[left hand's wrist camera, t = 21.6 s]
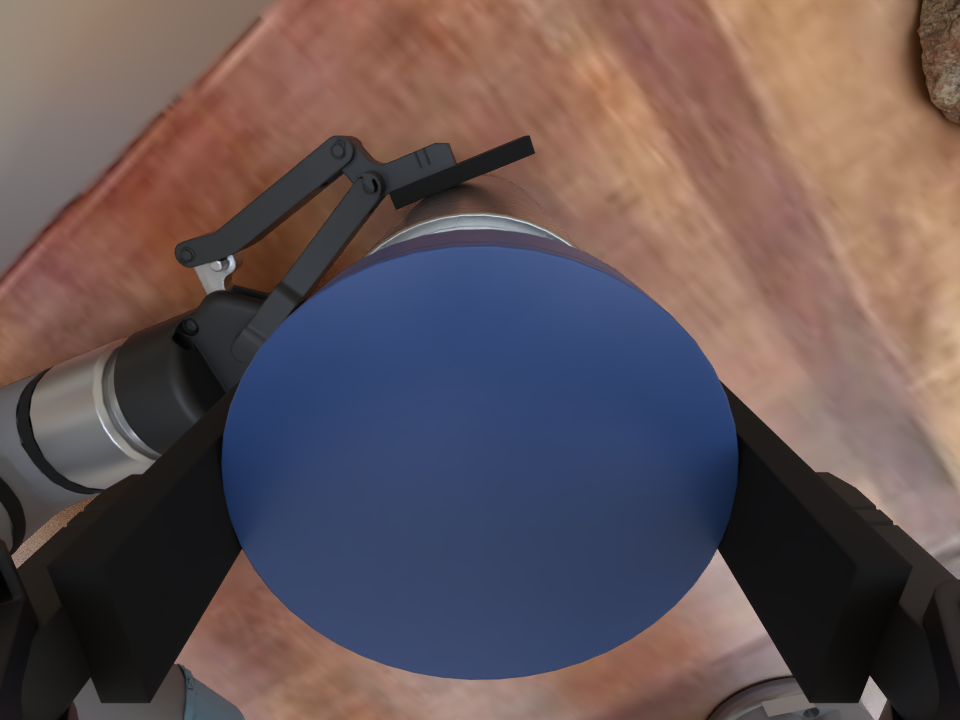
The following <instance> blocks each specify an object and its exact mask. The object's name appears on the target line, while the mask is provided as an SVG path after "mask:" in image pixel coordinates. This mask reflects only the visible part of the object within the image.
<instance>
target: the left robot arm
mask: <svg viewBox="0 0 960 720" xmlns="http://www.w3.org/2000/svg"><path fill="white" fill-rule="evenodd" d="M719 381H720V380H719ZM239 383H240V381H239V382H238V383H237V384H235V385H234V386H233V387H232V388H231V389H230V390H229V391H228V392H227V393H226V394H225V395H224V396H223V397H222V398H221V399H220V400H219V401H218V402H217V403H216V404H215V405H214V406H213V407H212V408H211V409H209V410H208V411H207V412H206V413H205V414H204V415H203V416H202V417H201V418H200V419H199V420H198V421H197V422H196V423H195V424H194V425H193V426H192V427H191V428H190V429H189V430H188V431H187V432H186V433H185V434H184V435H182V436H181V437H180V438H179V439H178V440H177V441H176V442H175V443H174V444H173V445H172V446H171V447H170V448H169V449H168V450H167V451H166V452H165V453H164V454H163V455H162V456H161V457H160V458H159V459H158V460H157V461H155V462H154V463H153V464H152V465H151V466H150V467H149V468H148V469H147V470H146V471H145V472H144V473H143V474H131V475H129V476H128V477H126V478H124V479H122V480H121V481H119V482H117V483H115V484H114V485H112V486H110V487H108V488H106V489H105V490H103V491H102V492H101V493H100V494H99V495H98V496H97V497H96V498H95V499H94V500H92V501H91V502H90V503H89V504H88V505H87V506H86V507H85V508H84V511H83V512H79V513H78V514H77V515H76V516H75V517H74V518H73V519H71V520H70V521H69V522H68V523H67V527H63V528H62V529H60V530H59V531H58V532H57V533H56V534H55V535H54V536H53V537H52V538H51V539H49V540H48V541H47V542H46V543H45V544H44V545H43V546H42V547H41V548H39V549H38V550H37V551H36V552H35V553H34V554H33V555H32V556H31V557H30V558H28V559H27V560H26V561H25V562H24V563H23V564H22V565H21V566H20V567H19V568H17V569H16V567H15V564H14V562H13V560H12V557H11V555H10V553H9V550H8V548H7V546H6V543H5V541H3V540H1V539H0V720H79V718H78V712H77V708H76V706H75V704H74V701H73V700H74V699H75V698H76V696H77V695H78V694H79V692H80V691H81V690H82V688H83V687H84V686H85V684H86V683H87V681H88V680H89V679H90V677H91V679H92V682H93V684H94V687H95V689H96V692H97V694H98V697H99V699H100V702H101V703H150V702H151V701H152V699H153V697H154V696H155V694H156V692H157V691H158V689H159V687H160V686H161V684H162V682H163V681H164V679H165V677H166V676H167V674H168V672H169V671H170V669H171V667H172V665H173V664H174V662H175V660H176V659H177V657H178V655H179V654H180V652H181V650H182V649H183V647H184V645H185V644H186V642H187V640H188V639H189V637H190V635H191V634H192V632H193V630H194V629H195V627H196V625H197V623H198V622H199V620H200V618H201V617H202V615H203V613H204V612H205V610H206V608H207V607H208V605H209V603H210V602H211V600H212V598H213V597H214V595H215V593H216V592H217V590H218V588H219V587H220V585H221V583H222V581H223V580H224V578H225V576H226V575H227V573H228V571H229V570H230V568H231V566H232V565H233V563H234V561H235V560H236V558H237V556H238V555H239V553H240V551H241V550H242V547H241V545H240V543H239V540H238V538H237V535H236V533H235V530H234V528H233V526H232V523H231V521H230V517H229V512H228V508H227V504H226V499H225V495H224V490H223V480H222V469H221V459H222V445H223V433H224V429H225V425H226V421H227V416H228V412H229V408H230V404H231V402H232V399H233V397H234V395H235V392H236V390H237V387H238V385H239ZM720 383H721V385H722V387H723V389H724V391H725V393H726V396H727V399H728V402H729V406H730V409H731V412H732V416H733V419H734V423H735V428H736V436H737V444H738V453H739V463H738V483H737V488H736V493H735V497H734V502H733V507H732V511H731V515H730V519H729V522H728V525H727V528H726V531H725V533H724V536H723V539H722V541H721V542H720V544H719V546H718V550H719V552H720V553H721V555H722V557H723V559H724V560H725V562H726V564H727V565H728V567H729V569H730V570H731V572H732V574H733V575H734V577H735V579H736V580H737V582H738V584H739V585H740V587H741V589H742V590H743V592H744V594H745V595H746V597H747V599H748V601H749V602H750V604H751V606H752V607H753V609H754V611H755V612H756V614H757V616H758V617H759V619H760V621H761V622H762V624H763V626H764V627H765V629H766V631H767V632H768V634H769V636H770V638H771V639H772V641H773V643H774V644H775V646H776V648H777V649H778V651H779V653H780V654H781V656H782V658H783V659H784V661H785V663H786V664H787V666H788V668H789V669H790V671H791V673H792V674H793V676H794V678H785V679H779V680H774V681H769V682H766V683H762V684H759V685H756V686H754V687H751V688H749V689H746V690H744V691H742V692H740V693H738V694H737V695H735V696H733V697H732V698H730V699H729V700H727V701H726V702H725V703H723V704H722V705H721V706H720V707H719V708H718V709H717V710H716V711H715V712H714V713H713V714H712V715H711V716H710V718H709V719H708V720H874V719H873V718H872V716H871V715H870V713H869V712H868V710H867V709H866V707H865V706H864V704H863V703H862V701H861V700H860V698H861V696H862V693H863V691H864V688H865V686H866V683H867V681H868V678H869V676H871V678H872V679H873V680H874V682H875V683H876V684H877V686H878V687H879V688H880V690H881V691H882V693H883V694H884V695H885V697H886V698H887V701H886V704H885V706H884V708H883V711H882V713H881V715H880V718H879V720H960V580H958V579H956V578H955V577H954V576H953V575H952V574H951V573H950V572H949V571H948V570H946V569H945V568H944V567H943V566H942V565H941V564H940V563H939V562H938V561H936V560H935V559H934V558H933V557H932V556H931V555H930V554H929V553H928V552H926V551H925V550H924V549H923V548H922V547H921V546H920V545H919V544H918V543H916V542H915V541H914V540H913V539H912V538H911V537H910V536H909V535H908V534H907V533H905V532H904V531H903V530H902V529H901V528H900V527H899V526H898V525H893V521H892V520H891V519H890V518H889V517H888V516H887V515H885V514H884V513H883V512H882V511H881V510H877V509H876V506H875V505H874V504H873V503H872V502H871V501H870V500H869V499H868V498H867V497H865V496H864V495H863V494H862V493H861V492H860V491H859V490H858V489H857V488H855V487H853V486H852V485H850V484H848V483H846V482H845V481H843V480H841V479H839V478H837V477H836V476H834V475H832V474H830V473H829V472H815V471H813V470H812V469H811V468H810V467H809V466H808V465H807V464H806V463H805V462H804V461H803V460H802V459H801V458H800V457H799V456H798V455H797V454H796V453H795V452H794V451H793V450H792V449H791V448H790V447H789V446H788V445H786V444H785V443H784V442H783V441H782V440H781V439H780V438H779V437H778V436H777V435H776V434H775V433H774V432H773V431H772V430H771V429H770V428H769V427H768V426H767V425H766V424H765V423H764V422H763V421H762V420H761V419H759V418H758V417H757V416H756V415H755V414H754V413H753V412H752V411H751V410H750V409H749V408H748V407H747V406H746V405H745V404H744V403H743V402H742V401H741V400H740V399H739V398H738V397H737V396H736V395H735V394H734V393H732V392H731V391H730V390H729V389H728V388H727V387H726V386H725V385H724V384H723V383H722V382H721V381H720Z"/></svg>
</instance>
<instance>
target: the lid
mask: <svg viewBox="0 0 960 720" xmlns="http://www.w3.org/2000/svg"><path fill="white" fill-rule="evenodd" d="M738 463H739V453H738V444H737V436H736V428H735V423H734V419H733V416H732V412H731V409H730V406H729V402H728V399H727V396H726V393H725V391H724V389H723V387H722V385H721V383H720V381H719V379H718V376H717V374H716V372H715V370H714V368H713V366H712V365H711V363H710V362H709V361H708V359H707V358H706V356H705V355H704V353H703V352H702V350H701V349H700V347H699V346H698V344H697V343H696V342H695V340H694V339H693V338H692V337H691V336H690V335H689V334H688V333H687V332H686V331H685V329H684V328H683V327H682V326H681V325H680V324H679V323H678V322H677V321H676V320H675V319H674V318H673V317H672V316H671V315H670V314H669V313H668V312H667V311H666V310H664V309H663V308H662V307H661V306H660V305H659V304H658V303H656V302H655V301H654V300H653V299H652V298H651V297H650V296H648V295H647V294H646V293H645V292H644V291H643V290H641V289H640V288H639V287H638V286H636V285H635V284H634V283H633V282H631V281H630V280H629V279H628V278H626V277H625V276H624V275H623V274H621V273H620V272H619V271H617V270H616V269H615V268H613V267H611V266H609V265H608V264H606V263H604V262H602V261H601V260H599V259H597V258H596V257H594V256H592V255H590V254H589V253H586V252H584V251H581V250H579V249H576V248H574V247H571V246H569V245H567V244H564V243H562V242H559V241H556V240H552V239H548V238H544V237H540V236H536V235H532V234H528V233H523V232H514V231H505V230H497V229H465V230H452V231H446V232H440V233H433V234H427V235H422V236H419V237H416V238H412V239H409V240H406V241H402V242H399V243H396V244H392V245H390V246H388V247H386V248H384V249H381V250H379V251H377V252H375V253H373V254H370V255H368V256H366V257H364V258H362V259H360V260H359V261H357V262H356V263H354V264H353V265H351V266H349V267H348V268H346V269H345V270H343V271H342V272H340V273H338V274H337V275H336V276H334V277H333V278H332V279H331V280H330V281H329V282H327V283H326V284H325V285H324V286H323V287H322V288H320V289H319V290H318V291H317V292H316V293H315V294H314V295H312V296H311V297H310V298H309V299H308V300H307V301H306V302H304V303H303V304H302V305H301V306H300V307H299V308H297V309H296V310H295V311H294V312H293V313H292V314H291V315H289V316H288V317H287V318H286V319H285V320H284V321H283V322H281V324H280V325H279V326H278V327H277V328H276V329H275V331H274V332H273V333H272V334H271V335H270V336H269V338H268V339H267V340H266V341H265V342H264V343H263V345H262V346H261V347H260V348H259V350H258V351H257V353H256V355H255V356H254V358H253V359H252V361H251V363H250V364H249V366H248V368H247V369H246V371H245V372H244V374H243V376H242V378H241V380H240V383H239V385H238V387H237V390H236V392H235V395H234V397H233V399H232V402H231V404H230V408H229V412H228V416H227V421H226V425H225V429H224V433H223V445H222V459H221V469H222V480H223V490H224V495H225V499H226V504H227V508H228V512H229V517H230V521H231V523H232V526H233V528H234V530H235V533H236V535H237V538H238V540H239V543H240V545H241V547H242V549H243V551H244V552H245V554H246V556H247V557H248V559H249V561H250V563H251V564H252V566H253V568H254V569H255V571H256V572H257V573H258V575H259V576H260V577H261V579H262V580H263V581H264V582H265V584H266V585H267V586H268V588H269V589H270V590H271V592H272V593H273V594H274V595H275V596H276V597H277V598H278V599H279V600H280V601H281V602H282V603H283V604H284V605H285V606H286V607H287V608H288V609H289V610H290V611H291V612H293V613H294V614H295V615H296V616H298V617H299V618H300V619H301V620H303V621H304V622H305V623H306V624H308V625H309V626H310V627H311V628H313V629H314V630H316V631H317V632H319V633H321V634H322V635H324V636H325V637H327V638H329V639H330V640H332V641H333V642H335V643H337V644H339V645H341V646H343V647H345V648H347V649H349V650H351V651H353V652H355V653H357V654H359V655H361V656H363V657H366V658H369V659H371V660H374V661H377V662H379V663H382V664H385V665H387V666H391V667H395V668H398V669H402V670H406V671H410V672H413V673H418V674H424V675H430V676H436V677H442V678H454V679H467V680H485V679H506V678H515V677H525V676H531V675H536V674H541V673H545V672H550V671H555V670H558V669H562V668H565V667H568V666H572V665H575V664H578V663H581V662H584V661H586V660H589V659H591V658H593V657H596V656H598V655H601V654H603V653H606V652H608V651H610V650H611V649H613V648H615V647H617V646H619V645H621V644H623V643H625V642H626V641H628V640H630V639H632V638H633V637H635V636H636V635H638V634H639V633H641V632H642V631H644V630H645V629H647V628H648V627H650V626H651V625H652V624H654V623H655V622H656V621H657V620H659V619H660V618H661V617H662V616H663V615H664V614H666V613H667V612H668V611H669V610H670V609H672V608H673V607H674V606H675V605H676V604H677V603H678V602H679V601H680V600H681V598H682V597H683V596H684V595H685V594H686V593H687V592H688V591H689V590H690V589H691V588H692V587H693V585H694V584H695V583H696V581H697V580H698V579H699V577H700V576H701V574H702V573H703V572H704V570H705V569H706V567H707V566H708V565H709V563H710V561H711V560H712V558H713V556H714V554H715V552H716V550H717V548H718V546H719V544H720V542H721V541H722V539H723V536H724V533H725V531H726V528H727V525H728V522H729V519H730V515H731V511H732V507H733V502H734V497H735V493H736V488H737V483H738Z"/></svg>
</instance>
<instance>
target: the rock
mask: <svg viewBox="0 0 960 720" xmlns="http://www.w3.org/2000/svg"><path fill="white" fill-rule="evenodd" d="M917 32H918V34H919V36H920V44H921V46H922V49H923V53H922V55H921V56H922V68H923V71H924V74H925V76H926V85H927V88H928V91H929V94H930V97H931V102H933V103H934V104H935V105H936V106H937V108H938V109H941V110H942V112H943V114H944V115H945V117H946V118H947V119H948V120H950V121H951V122H954V123H957V124H958V125H959V126H960V0H923V3H922V9H921V16H920V27H919V29H918V30H917Z"/></svg>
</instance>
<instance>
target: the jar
mask: <svg viewBox="0 0 960 720" xmlns="http://www.w3.org/2000/svg"><path fill="white" fill-rule="evenodd" d="M465 229H497V230H505V231H514V232H523V233H528V234H532V235H536V236H540V237H544V238H548V239H552V240H556V241H559V242H562V243H564V244H567V245H569V246H571V247H574V248H576V249H579V250H581V249H580V248H579V247H578V246H577V245H576V244H575V243H574V242H573V241H572V240H571V239H570V238H569V237H568V236H567V235H566V234H565V233H564V232H563V230H562V229H561V228H560V227H559V226H558V225H557V224H556V223H555V222H554V221H553V220H552V219H551V218H550V217H549V216H548V215H547V214H546V213H545V212H544V211H543V210H542V208H541V207H540V206H539V205H538V204H537V203H536V202H535V201H534V200H533V199H532V198H531V197H530V196H529V195H528V194H527V193H526V192H524V191H523V190H522V189H521V188H519V187H517V186H516V185H514V184H512V183H511V182H508V181H506V180H504V179H501V178H497V177H494V176H488V175H480V176H478V177H475V178H473V179H470V180H468V181H465V182H463V183H461V184H458V185H456V186H453V187H451V188H448V189H446V190H443V191H441V192H438V193H436V194H433V195H431V196H428V197H426V198H423V199H421V200H419V201H418V202H417V203H416V204H415V205H414V206H413V207H412V208H411V209H410V210H409V211H408V212H407V213H406V214H405V215H404V216H403V217H402V218H401V219H400V220H399V221H398V222H397V223H396V224H395V225H394V226H393V227H392V228H391V229H390V230H389V231H388V232H387V233H386V234H385V235H384V236H383V237H382V238H381V239H380V240H379V241H378V242H377V243H376V244H375V245H374V246H373V247H372V248H371V249H370V250H369V251H368V252H367V253H366V254H365V255H364V257H366V256H368V255H370V254H373V253H375V252H377V251H379V250H381V249H384V248H386V247H388V246H390V245H392V244H396V243H399V242H402V241H406V240H409V239H412V238H416V237H419V236H422V235H427V234H433V233H440V232H446V231H452V230H465ZM581 251H582V250H581ZM364 257H363V258H364Z"/></svg>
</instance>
